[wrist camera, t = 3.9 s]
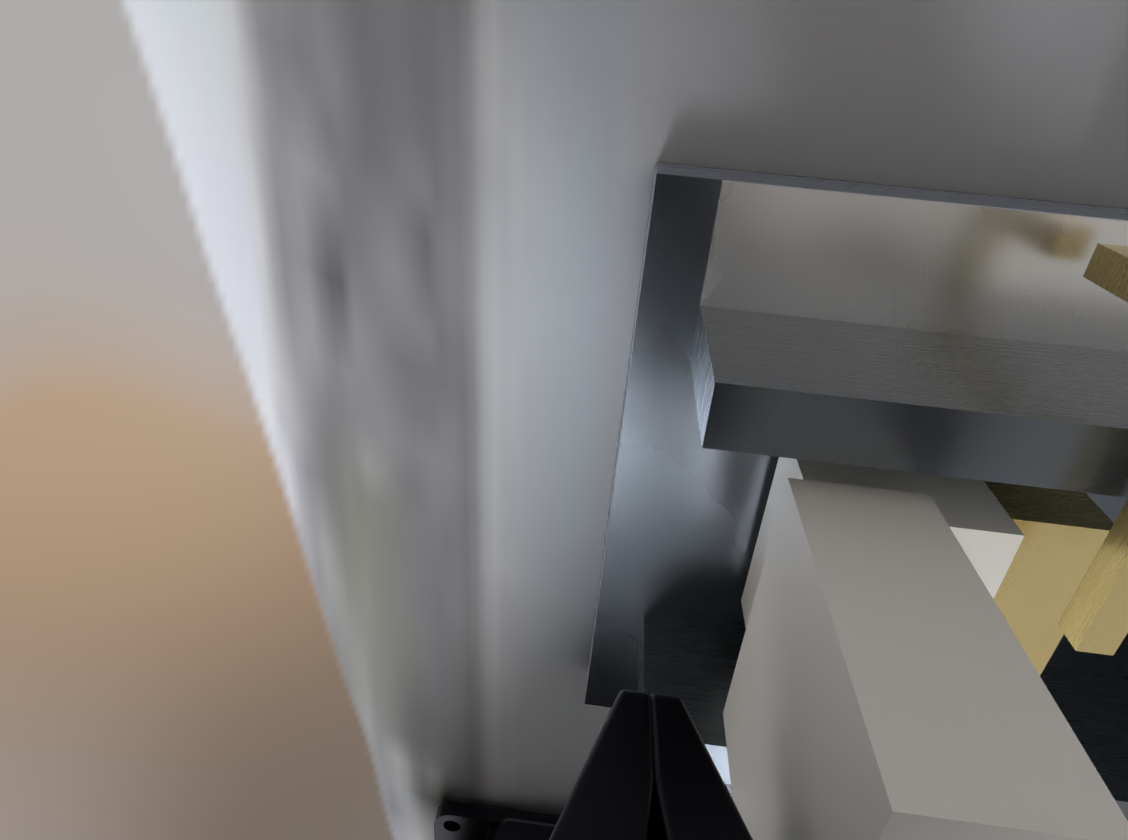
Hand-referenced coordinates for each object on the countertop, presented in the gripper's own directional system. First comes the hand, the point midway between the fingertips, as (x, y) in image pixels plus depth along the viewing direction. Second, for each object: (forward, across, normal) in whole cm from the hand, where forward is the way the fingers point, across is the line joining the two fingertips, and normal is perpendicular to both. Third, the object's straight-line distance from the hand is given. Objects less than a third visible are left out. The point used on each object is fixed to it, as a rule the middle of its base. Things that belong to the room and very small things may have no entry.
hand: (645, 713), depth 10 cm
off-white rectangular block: (+5, -3, 0) cm, 6 cm away
